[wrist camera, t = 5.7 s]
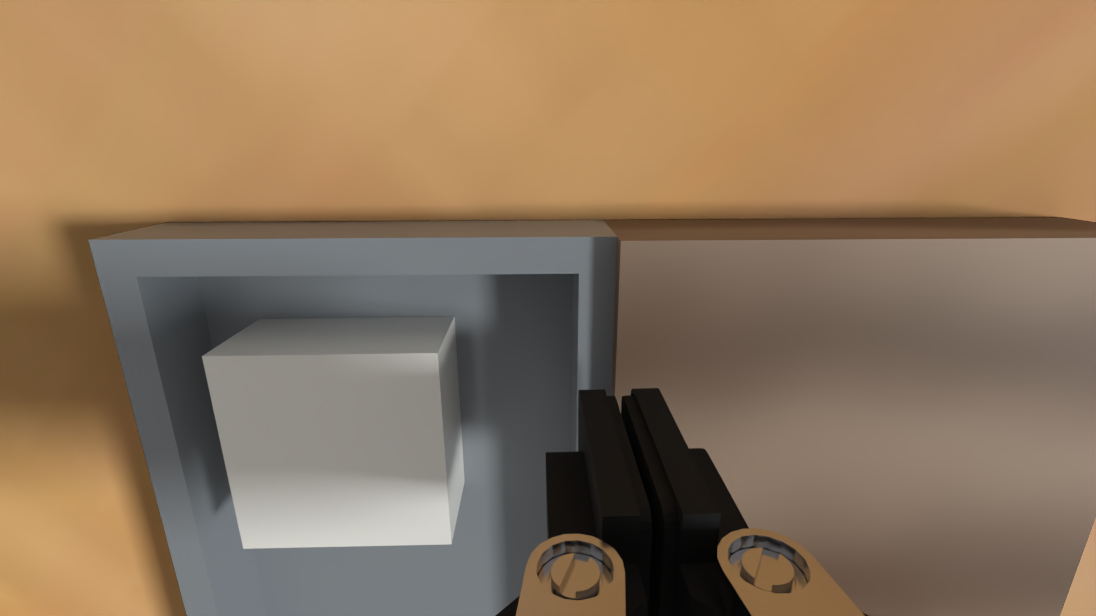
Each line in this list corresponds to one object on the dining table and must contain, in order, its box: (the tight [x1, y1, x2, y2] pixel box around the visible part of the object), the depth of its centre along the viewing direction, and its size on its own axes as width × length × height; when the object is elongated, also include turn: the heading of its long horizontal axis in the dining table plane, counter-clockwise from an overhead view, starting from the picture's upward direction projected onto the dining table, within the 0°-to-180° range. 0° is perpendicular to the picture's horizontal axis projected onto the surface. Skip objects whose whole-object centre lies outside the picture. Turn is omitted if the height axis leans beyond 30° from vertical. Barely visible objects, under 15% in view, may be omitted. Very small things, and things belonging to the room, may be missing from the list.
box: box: [89, 220, 617, 616], centre depth 15 cm, size 17×11×2 cm, turn 0°
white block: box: [202, 316, 465, 549], centre depth 13 cm, size 5×5×2 cm
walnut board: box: [604, 217, 1096, 616], centre depth 15 cm, size 17×12×3 cm
